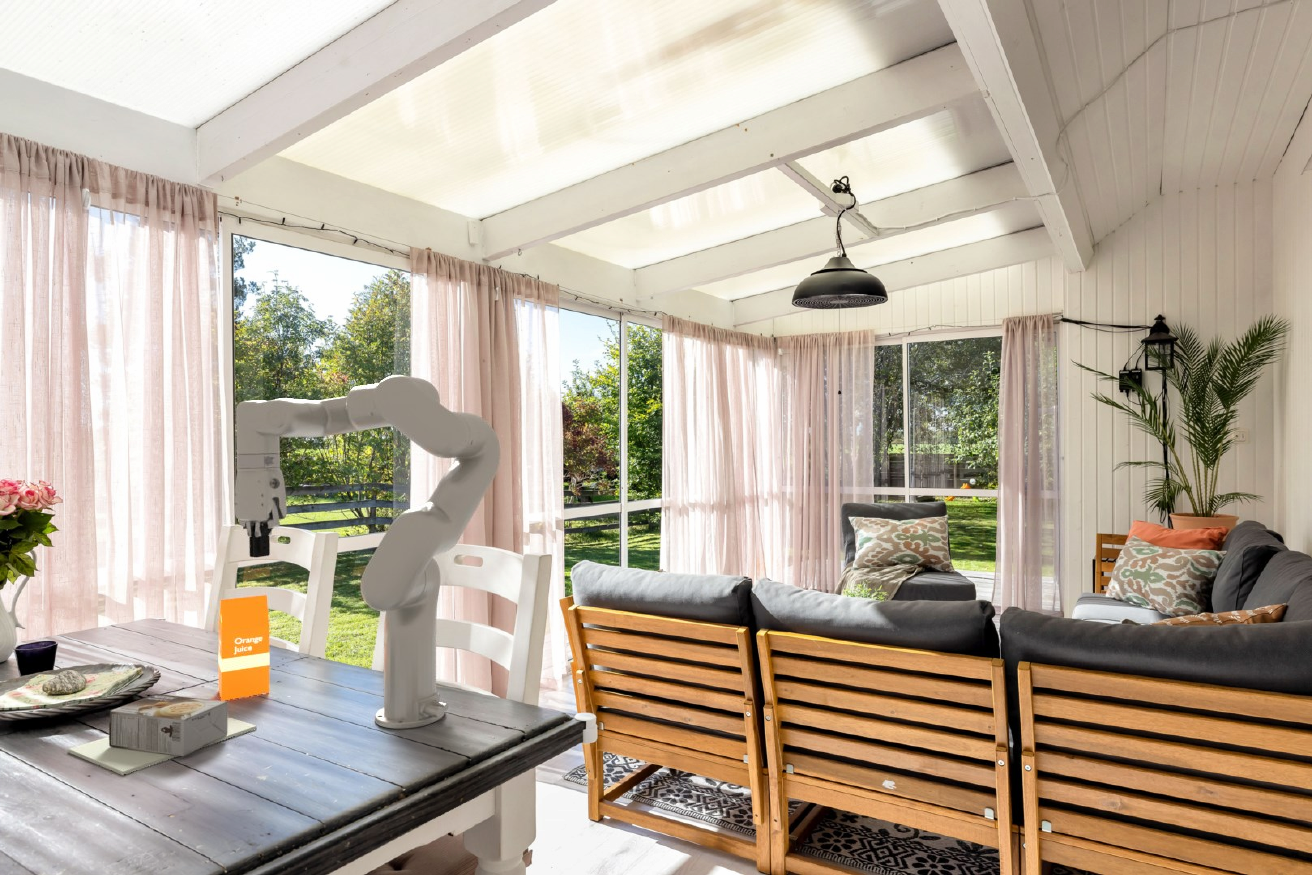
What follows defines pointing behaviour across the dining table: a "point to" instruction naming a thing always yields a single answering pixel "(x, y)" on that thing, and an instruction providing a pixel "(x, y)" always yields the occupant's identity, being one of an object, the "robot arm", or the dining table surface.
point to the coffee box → (168, 724)
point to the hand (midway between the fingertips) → (259, 556)
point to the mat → (135, 759)
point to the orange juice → (243, 647)
